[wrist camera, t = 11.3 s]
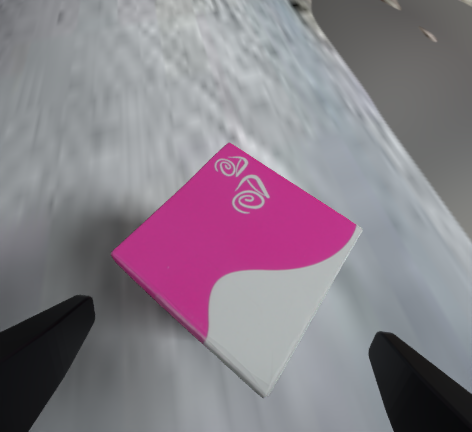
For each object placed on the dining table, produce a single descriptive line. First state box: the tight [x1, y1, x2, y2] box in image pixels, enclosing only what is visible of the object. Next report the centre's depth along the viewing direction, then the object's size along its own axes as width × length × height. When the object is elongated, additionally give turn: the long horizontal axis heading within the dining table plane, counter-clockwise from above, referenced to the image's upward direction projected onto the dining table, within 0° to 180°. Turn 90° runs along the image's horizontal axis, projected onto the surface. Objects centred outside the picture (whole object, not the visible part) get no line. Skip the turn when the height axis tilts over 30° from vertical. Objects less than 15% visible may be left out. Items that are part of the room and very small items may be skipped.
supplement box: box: [111, 143, 362, 398], centre depth 12 cm, size 6×6×12 cm
